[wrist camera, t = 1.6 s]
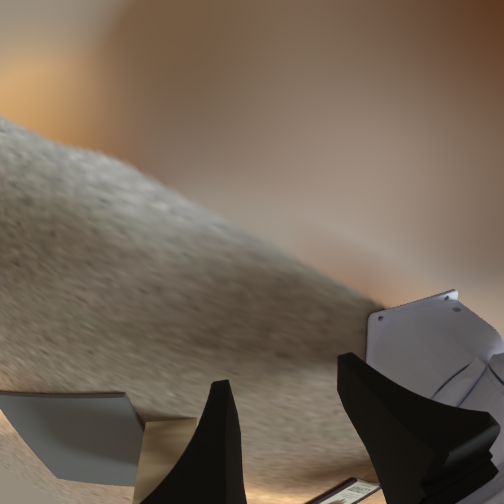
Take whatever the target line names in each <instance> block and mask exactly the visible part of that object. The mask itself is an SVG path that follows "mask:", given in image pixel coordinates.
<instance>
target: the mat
mask: <svg viewBox="0 0 504 504" xmlns="http://www.w3.org/2000/svg"><path fill="white" fill-rule="evenodd" d="M0 409H1V410H2V412H3V413H4V415H5V416H6V417H7V419H8V420H9V422H10V423H11V424H12V426H13V427H14V428H15V430H16V431H17V432H18V434H19V435H20V436H21V437H22V439H23V440H24V441H25V442H26V444H27V445H28V446H29V447H30V448H31V450H32V451H33V452H34V453H35V454H36V456H37V457H38V458H39V459H40V460H41V461H42V462H43V463H44V465H45V466H46V467H47V468H48V469H49V470H50V471H51V472H52V473H53V474H54V475H55V476H56V477H57V478H59V479H65V480H71V481H78V482H86V483H94V484H104V485H116V486H134V487H135V483H136V477H137V471H138V465H139V459H140V453H141V447H142V442H143V436H144V431H145V428H144V426H143V425H142V423H141V421H140V419H139V417H138V416H137V414H136V412H135V410H134V408H133V406H132V404H131V403H130V401H129V399H128V397H127V395H126V393H114V394H33V393H16V392H3V391H0Z"/></svg>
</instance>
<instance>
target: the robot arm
mask: <svg viewBox="0 0 504 504" xmlns="http://www.w3.org/2000/svg"><path fill="white" fill-rule="evenodd" d="M445 297H446V298H445ZM457 298H458V291H456V290H455V289H453V290H449V291H446V292H444V293H440V294H437V295H434V296H431V297H427V298H424V299H421V300H417V301H414V302H411V303H407V304H404V305H400V306H397V307H393V308H390V309H386V310H382V311H379V312H375V313H372V314H371V315H370V316H369V318H368V335H367V353H366V362H364V361H363V360H361V359H360V358H359V357H357V356H356V355H355V354H353V353H352V352H350V353H346V354H343V355H339V356H338V372H337V391H338V394H339V396H340V399H341V402H342V404H343V407H344V409H345V411H346V413H347V415H348V417H349V418H350V420H351V422H352V424H353V426H354V427H355V429H356V431H357V433H358V435H359V436H360V438H361V440H362V442H363V443H364V445H365V447H366V449H367V451H368V453H369V456H370V458H371V461H372V463H373V466H374V468H375V471H376V474H377V476H378V479H379V482H380V485H381V487H382V490H383V493H384V497H385V500H386V503H387V504H504V342H503V340H502V338H501V336H500V335H499V333H498V332H497V331H496V329H494V328H493V327H492V326H491V325H490V324H488V323H487V322H486V321H484V320H483V319H482V318H480V317H479V316H478V315H476V314H475V313H474V312H472V311H471V310H470V309H468V308H467V307H466V306H464V305H463V304H462V303H460V302H459V301H458V300H457ZM380 316H381V318H380V319H378V318H379V317H380ZM139 504H247V501H246V495H245V489H244V483H243V469H242V449H241V432H240V425H239V419H238V413H237V409H236V406H235V402H234V398H233V395H232V391H231V387H230V384H229V380H222V381H215V382H213V383H212V384H211V389H210V393H209V396H208V400H207V403H206V406H205V408H204V411H203V414H202V416H201V419H200V421H199V423H198V426H197V428H196V430H195V432H194V434H193V436H192V438H191V440H190V442H189V444H188V445H187V447H186V449H185V451H184V452H183V454H182V455H181V457H180V458H179V460H178V461H177V463H176V464H175V466H174V467H173V468H172V470H171V471H170V472H169V473H168V475H167V476H166V477H165V478H164V479H163V480H162V482H161V483H160V484H159V485H158V486H157V487H156V488H155V489H154V490H153V491H152V492H151V493H150V494H149V495H148V496H147V497H146V498H145V499H144V500H143V501H141V502H140V503H139Z"/></svg>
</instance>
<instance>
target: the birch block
mask: <svg viewBox="0 0 504 504" xmlns="http://www.w3.org/2000/svg"><path fill="white" fill-rule="evenodd" d="M198 423H199V421H198V419H197V418H192V419H182V420H169V421H154V422H146V425H145V431H144V436H143V442H142V447H141V453H140V459H139V465H138V471H137V477H136V483H135V490H134V497H133V504H139V503H140V502H141V501H143V500H144V499H145V498H146V497H147V496H148V495H149V494H150V493H151V492H152V491H153V490H154V489H155V488H156V487H157V486H158V485H159V484H160V483H161V482H162V480H163V479H164V478H165V477H166V476H167V475H168V473H169V472H170V471H171V470H172V468H173V467H174V466H175V464H176V463H177V461H178V460H179V458H180V457H181V455H182V454H183V452H184V451H185V449H186V447H187V445H188V444H189V442H190V440H191V438H192V436H193V434H194V432H195V430H196V428H197V426H198Z"/></svg>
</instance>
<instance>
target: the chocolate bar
mask: <svg viewBox="0 0 504 504" xmlns="http://www.w3.org/2000/svg"><path fill="white" fill-rule="evenodd" d="M381 488H382V487H381V485H380V484H376V483H372V482H368V481H364V480H360V479H356V478H353V477H351V478H350V479H348V480H346V481H345V482H343V483H342V484H340V485H338V486H337V487H335V488H333V489H331V490H330V491H328V492H326V493H324V494H323V495H321V496H319V497H317V498H315V499H314V500H312V501H310V502H308V503H306V504H357V503H358V502H360V501H362V500H364V499H365V498H367V497H369V496H370V495H372V494H373V493H375V492H377V491H378V490H380V489H381Z"/></svg>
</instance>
